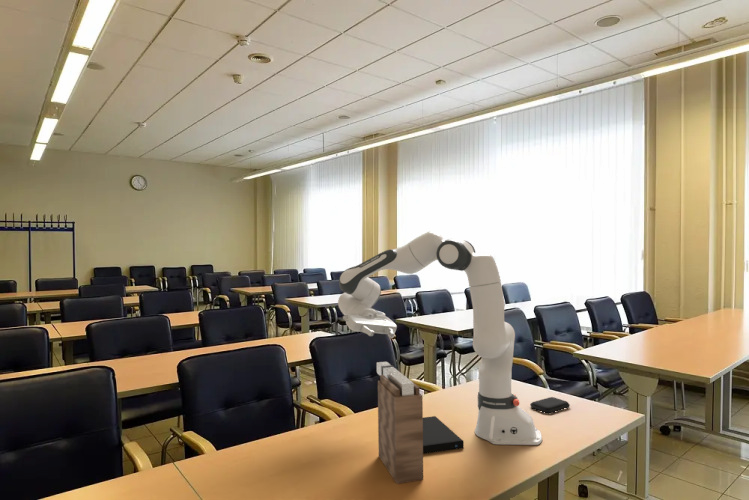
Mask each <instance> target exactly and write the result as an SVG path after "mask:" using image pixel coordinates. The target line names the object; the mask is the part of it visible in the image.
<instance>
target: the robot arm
mask: <svg viewBox="0 0 749 500" xmlns="http://www.w3.org/2000/svg"><path fill="white" fill-rule="evenodd" d="M435 261H438V263H439V264H440V265H441V266H442V267H444V268H445V269H449V270H454V271H461V272H465V274H466V276H467V279H468V280H467V281H468V286H469V292H470V299H471V304H472V313H473V314H472V315H473V319H472V321H473V323H472V325H473V337H472V348H473V350H474V352H475V353H476V354H477V355H478V356H479V357H481V361H480V364H479V368H478V392H477V409H478V412H477V414H478V415H477V421H476V425H475V429H474V434H475V435H476V436H477V437H479V438H481V439H484V440H486V441H488V442H489V443H491V444H493V445H505V446H506V445H508V446H511V445H512V446H513V445H514V446H515V445H517V446H518V445H521V446H522V445H523V446H530V445H531V446H533V445H534V446H538V445H540V444H541V443H542V441H543V437H542V436H543V435H542V433H541V431H540V430H539V429H538V428H536V426H535V422H534V419H533V417H532V416H531V414H530V413H528V412H527V411H525V410H524V409H523V408H522V407H520V400H519V399H518V396H517V395H516V394H514V393H512V369H513V368H512V367H513V361H514V351H515V349H514V348H515V339H516V331H515V329H514V327H513V326H512V324H511V323H509V322H506V321H505V305H506V303H505V297H504V291H503V286H502V281H501V276H500V272H499V269H498V267H497V263H496V260H495V258H494V257H493V256H492V255H491V254H489V253H485V252H480V253H479V252H478V253H476V249H475V247H474V245H473V244H472V243H470V242H469V241H468V240H464V239H461V238H448V239H446V240H445V239H444V238H443V237H442V235H441V234H439V233H438V232H436V231H434V230H430V231H426V232H425V233H423V234H421V235H419V236H417V237H416V238H414V239H412V240H411V241H410V242H408V243H407V244H404V245H402V246H401V247H396V248H393V249H386V250H384V251H382V252H380V253H377V254H375V256H372V257H371V258H369V259H366V260H365V261H363V262H360V263H359V264H358V265H355V266H351V267H349V268H346V269H345V270H344V271H342V273H341V274H340V275H339V280H338V285H339V289H340V290H341V291H342V292H343V293H342V294H340V296H339V297H338V299H337V300H338V301H337V305H338V309H339V310H340V312H341V313H342V319H343V320H344V321H345V324H346V326H347V327H348V328H349V329H350V330H351V331H353V332H357V333H359V332H360V333H364V334H366V335H368V337H373V336H374V335H375V334H380V335H387V337H389V339H390V338H391V339H393V338H394V337H395V335H396V334H395V333H396V331H397V328H398V326H397V324H396V323H395V322H394V321H393V320H392V319H390V318H389V317H388V316H386V313H384V312H382V311H379V310H377V309H375V308H372V307H374V306H375V305H376V303H377V302H378V301H379V299H380V297H381V293H382V289H381V285H380V284H379V283H378V282H376V281H375V280H373V279H372V278H370V277H371V276H372V275H375V274H377V273H378V272H380V271H384V270H391V271H397V272H400V273H403V274H409V275H410V274H411V275H412V274H415V273H418V272H420V271H421V270H424V269H425V268H426V267H428V266H429V265H430V264H432V263H433V262H435Z"/></svg>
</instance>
